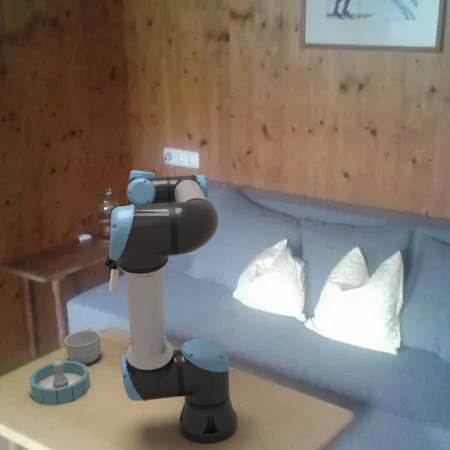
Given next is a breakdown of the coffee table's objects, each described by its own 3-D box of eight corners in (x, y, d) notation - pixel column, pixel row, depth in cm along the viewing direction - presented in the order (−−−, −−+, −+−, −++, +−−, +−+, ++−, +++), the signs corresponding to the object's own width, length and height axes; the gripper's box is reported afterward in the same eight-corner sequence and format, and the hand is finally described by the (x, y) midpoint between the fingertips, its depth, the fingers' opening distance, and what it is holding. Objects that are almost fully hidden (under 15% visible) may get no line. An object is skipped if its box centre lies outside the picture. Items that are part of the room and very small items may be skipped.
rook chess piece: (49, 388, 192) (46, 363, 189) (58, 380, 196) (55, 356, 193) (63, 390, 190) (60, 366, 188) (71, 382, 194) (68, 358, 192)
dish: (101, 384, 195) (99, 371, 194) (56, 411, 182) (55, 396, 181) (64, 368, 204) (62, 355, 203) (19, 392, 192) (18, 379, 191)
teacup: (94, 369, 203) (91, 346, 201) (61, 366, 206) (58, 343, 203) (110, 347, 216) (108, 325, 214) (79, 345, 218) (76, 323, 216)
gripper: (179, 229, 190) (171, 302, 191) (115, 218, 204) (107, 286, 205) (162, 229, 184) (154, 304, 185) (97, 218, 197) (90, 288, 199)
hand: (129, 295), depth 195 cm, fingers open, 13 cm apart
